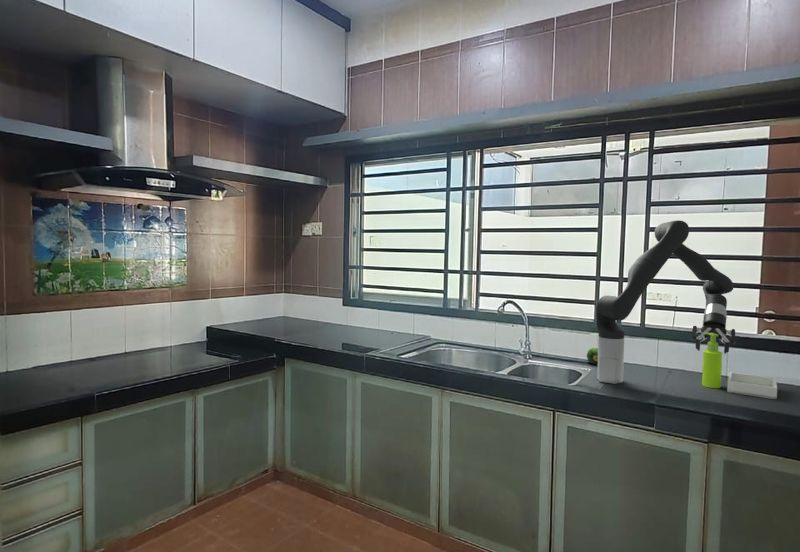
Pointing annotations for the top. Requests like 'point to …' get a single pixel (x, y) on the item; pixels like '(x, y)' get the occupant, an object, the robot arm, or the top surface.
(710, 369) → the soap dispenser
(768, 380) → the tray
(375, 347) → the top surface
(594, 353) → the vegetable
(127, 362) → the top surface
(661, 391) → the top surface
